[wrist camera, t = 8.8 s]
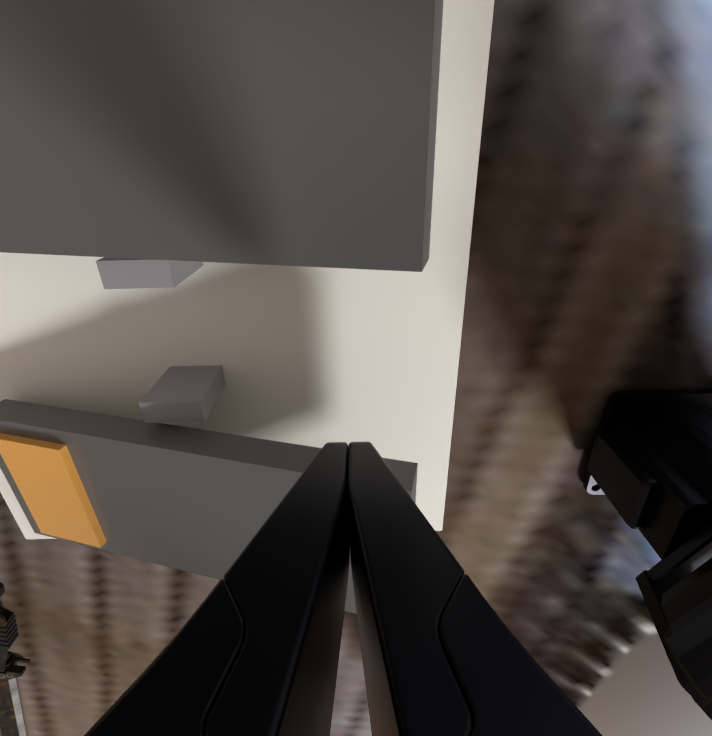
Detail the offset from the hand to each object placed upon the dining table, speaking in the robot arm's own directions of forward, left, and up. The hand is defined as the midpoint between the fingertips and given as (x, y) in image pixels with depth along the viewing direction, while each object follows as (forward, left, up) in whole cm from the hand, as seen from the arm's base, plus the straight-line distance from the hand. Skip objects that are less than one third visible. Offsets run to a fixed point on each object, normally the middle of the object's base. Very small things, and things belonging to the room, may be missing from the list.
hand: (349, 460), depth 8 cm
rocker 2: (+6, +6, -5) cm, 10 cm away
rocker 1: (+6, -6, -5) cm, 10 cm away
